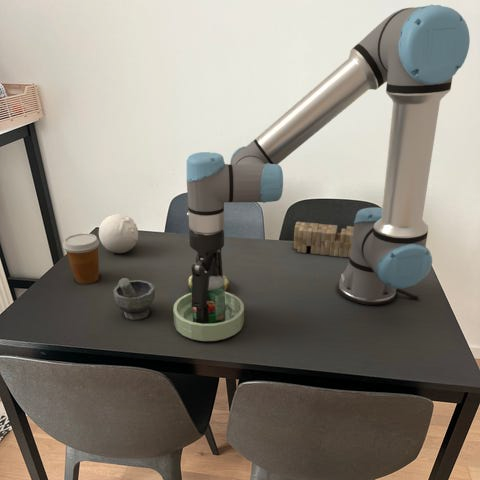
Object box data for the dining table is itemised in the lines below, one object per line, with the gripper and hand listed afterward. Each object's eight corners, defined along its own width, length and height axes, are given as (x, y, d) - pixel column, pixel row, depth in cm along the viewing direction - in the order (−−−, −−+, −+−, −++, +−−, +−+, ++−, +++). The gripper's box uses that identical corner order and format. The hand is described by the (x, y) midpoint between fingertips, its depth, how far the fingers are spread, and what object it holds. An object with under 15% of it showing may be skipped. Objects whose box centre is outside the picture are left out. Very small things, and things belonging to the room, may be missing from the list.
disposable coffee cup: (63, 284, 130) (54, 244, 123) (81, 269, 137) (74, 231, 131) (94, 288, 128) (87, 247, 121) (110, 273, 136) (104, 234, 129)
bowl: (250, 312, 118) (251, 295, 115) (232, 349, 104) (232, 330, 101) (189, 303, 121) (188, 286, 119) (163, 337, 108) (162, 319, 105)
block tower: (292, 254, 150) (385, 261, 144) (293, 229, 146) (389, 236, 140) (295, 245, 157) (385, 251, 151) (296, 221, 152) (389, 226, 146)
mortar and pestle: (125, 302, 121) (120, 260, 115) (160, 305, 120) (156, 262, 114) (109, 325, 112) (102, 280, 106) (146, 328, 111) (141, 283, 105)
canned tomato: (227, 314, 115) (227, 274, 109) (223, 331, 109) (222, 290, 103) (195, 312, 116) (193, 272, 110) (189, 329, 109) (187, 288, 104)
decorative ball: (130, 261, 143) (125, 224, 136) (94, 257, 145) (88, 220, 139) (146, 246, 153) (142, 210, 146) (112, 242, 155) (107, 207, 149)
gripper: (205, 212, 109) (208, 296, 121) (171, 245, 92) (178, 339, 104) (236, 215, 108) (235, 301, 120) (207, 249, 91) (209, 345, 103)
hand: (208, 319), depth 112 cm, fingers closed on canned tomato, 8 cm apart
